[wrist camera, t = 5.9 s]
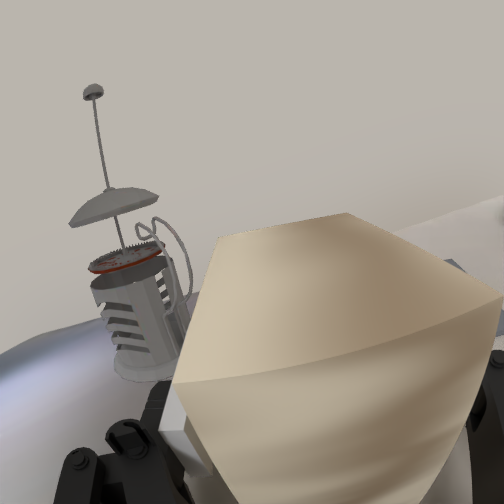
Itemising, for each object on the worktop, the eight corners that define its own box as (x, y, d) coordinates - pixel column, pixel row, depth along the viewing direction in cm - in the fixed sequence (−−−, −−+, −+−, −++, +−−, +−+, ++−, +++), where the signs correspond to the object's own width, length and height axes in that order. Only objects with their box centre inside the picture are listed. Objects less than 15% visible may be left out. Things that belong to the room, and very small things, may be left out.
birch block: (283, 560, 7) (171, 383, 3) (269, 436, 15) (218, 235, 11) (397, 532, 6) (503, 295, 3) (353, 418, 14) (344, 211, 11)
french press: (161, 318, 33) (108, 104, 26) (244, 335, 26) (184, 55, 19) (96, 363, 25) (26, 112, 18) (173, 404, 18) (78, 41, 12)
